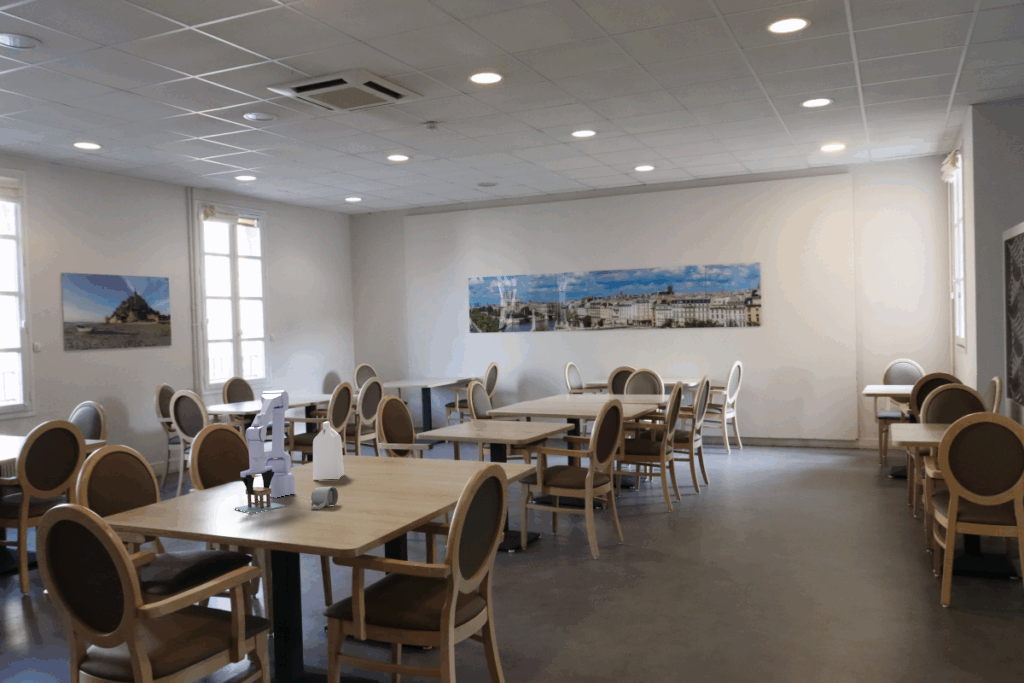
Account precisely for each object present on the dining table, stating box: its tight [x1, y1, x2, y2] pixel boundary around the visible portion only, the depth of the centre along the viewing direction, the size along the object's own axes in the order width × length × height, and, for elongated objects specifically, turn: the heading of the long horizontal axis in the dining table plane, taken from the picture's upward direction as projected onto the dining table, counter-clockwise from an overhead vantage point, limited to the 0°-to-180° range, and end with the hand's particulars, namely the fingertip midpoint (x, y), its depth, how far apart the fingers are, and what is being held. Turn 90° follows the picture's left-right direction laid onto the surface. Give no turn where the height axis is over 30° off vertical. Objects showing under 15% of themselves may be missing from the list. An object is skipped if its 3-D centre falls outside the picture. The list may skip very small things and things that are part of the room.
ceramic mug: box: [310, 486, 339, 510], centre depth 296 cm, size 11×8×8 cm
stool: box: [245, 486, 271, 509], centre depth 299 cm, size 9×5×7 cm, turn 57°
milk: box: [312, 421, 345, 480], centre depth 357 cm, size 12×12×26 cm
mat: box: [234, 501, 286, 514], centre depth 298 cm, size 14×14×1 cm
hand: (258, 492), depth 298 cm, fingers open, 7 cm apart
